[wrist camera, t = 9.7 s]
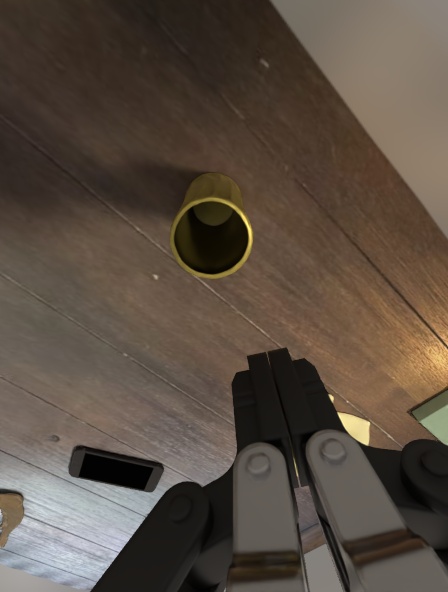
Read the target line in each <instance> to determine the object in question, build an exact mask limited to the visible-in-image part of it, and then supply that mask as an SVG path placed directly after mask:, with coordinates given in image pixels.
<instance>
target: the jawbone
mask: <svg viewBox="0 0 448 592" xmlns="http://www.w3.org/2000/svg"><path fill="white" fill-rule="evenodd" d="M22 503H23V498H22V497H21V496H20V495H18V494H14V493H8V494H0V509H1V511H2V512H1V513H2V515H3V522H2V523H1V524H0V529H3V531H2V533H1V535H0V546H1V547H4V546H5V544H6V543H7V537H8V535H9V533H10V532H11V531H12V530H13V529H15V528H16V527H17V526H18V525H19V524H20V522H21V521H22V519H23V516H24V509H23V507H22Z"/></svg>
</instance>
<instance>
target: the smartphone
mask: <svg viewBox="0 0 448 592" xmlns="http://www.w3.org/2000/svg"><path fill="white" fill-rule="evenodd" d="M163 471H164V467H163V466H162V465H160V464H156V463H152V462H147V461H143V460H138V459H134V458H129V457H125V456H120V455H116V454H111V453H107V452H102V451H98V450H93V449H89V448H84V447H78V448H76V449H75V450H74V453H73V456H72V460H71V464H70V468H69V474H70V475H71V476H72V477H76V478H81V479H86V480H91V481H95V482H100V483H105V484H110V485H115V486H120V487H125V488H130V489H135V490H139V491H144V492H153V491H154V490H155V488H156V486H157V484H158V482H159V480H160V477H161V475H162V473H163Z"/></svg>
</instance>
